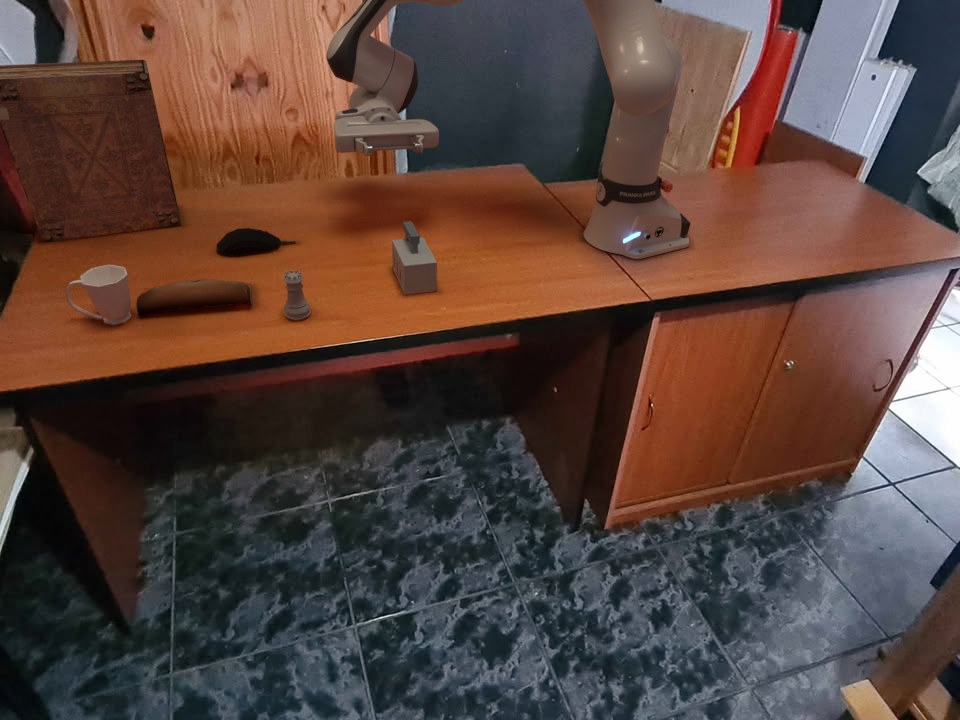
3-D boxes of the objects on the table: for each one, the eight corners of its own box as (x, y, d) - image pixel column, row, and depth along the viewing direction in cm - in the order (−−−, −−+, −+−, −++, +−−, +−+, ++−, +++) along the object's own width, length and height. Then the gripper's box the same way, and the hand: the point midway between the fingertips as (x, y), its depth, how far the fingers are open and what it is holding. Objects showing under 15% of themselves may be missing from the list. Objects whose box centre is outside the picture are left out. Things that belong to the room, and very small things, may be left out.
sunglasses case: (251, 281, 124) (246, 262, 118) (254, 316, 121) (250, 298, 115) (143, 290, 120) (133, 271, 113) (144, 326, 117) (133, 309, 111)
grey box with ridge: (436, 291, 126) (437, 244, 120) (404, 295, 124) (403, 248, 118) (423, 264, 133) (423, 220, 127) (392, 268, 131) (390, 223, 126)
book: (41, 242, 132) (-18, 80, 114) (44, 222, 139) (-12, 65, 121) (182, 225, 141) (148, 71, 123) (178, 207, 147) (145, 59, 129)
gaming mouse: (297, 250, 135) (295, 231, 133) (218, 258, 131) (214, 239, 128) (293, 236, 140) (291, 217, 137) (216, 243, 135) (213, 225, 133)
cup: (135, 328, 111) (122, 285, 106) (68, 331, 110) (52, 288, 105) (144, 305, 117) (132, 263, 112) (80, 307, 115) (65, 265, 110)
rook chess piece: (284, 322, 115) (279, 281, 110) (283, 308, 118) (278, 267, 113) (312, 320, 116) (307, 278, 111) (310, 306, 119) (305, 265, 115)
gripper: (429, 139, 143) (447, 163, 133) (330, 144, 137) (341, 170, 127) (430, 108, 139) (448, 131, 129) (328, 112, 134) (339, 136, 123)
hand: (394, 150), depth 128 cm, fingers open, 8 cm apart
